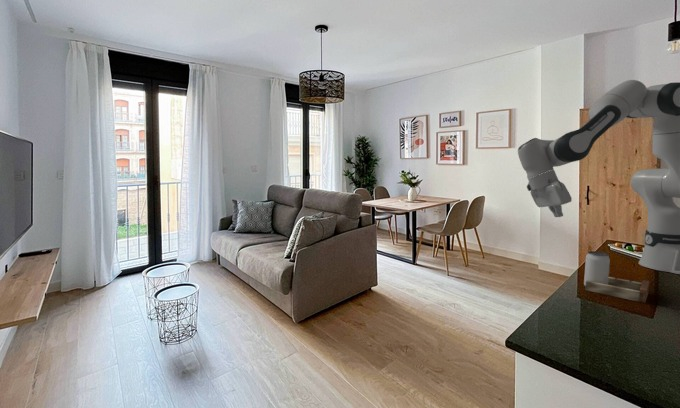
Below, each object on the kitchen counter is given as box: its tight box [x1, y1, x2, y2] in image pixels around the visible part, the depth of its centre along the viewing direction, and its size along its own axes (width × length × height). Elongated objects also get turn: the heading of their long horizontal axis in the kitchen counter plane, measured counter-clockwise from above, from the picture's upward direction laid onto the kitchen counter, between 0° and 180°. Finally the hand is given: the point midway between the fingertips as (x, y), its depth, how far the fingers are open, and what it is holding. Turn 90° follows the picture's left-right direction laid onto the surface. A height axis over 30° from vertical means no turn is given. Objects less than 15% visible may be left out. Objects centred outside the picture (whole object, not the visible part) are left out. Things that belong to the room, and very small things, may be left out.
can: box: [583, 250, 611, 286], centre depth 113 cm, size 6×6×12 cm
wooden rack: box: [584, 276, 650, 304], centre depth 109 cm, size 15×10×4 cm
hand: (559, 216), depth 120 cm, fingers closed
